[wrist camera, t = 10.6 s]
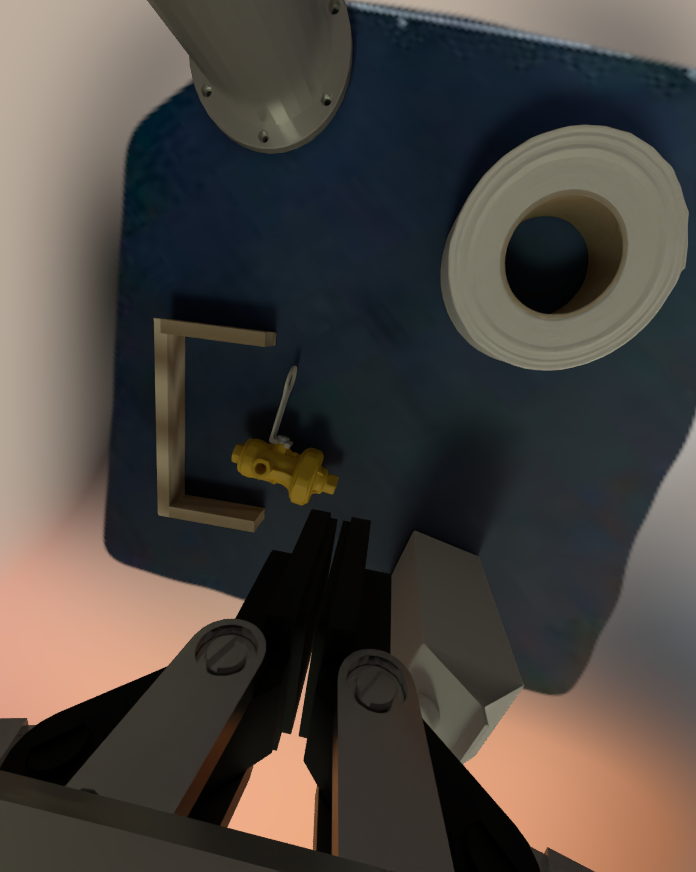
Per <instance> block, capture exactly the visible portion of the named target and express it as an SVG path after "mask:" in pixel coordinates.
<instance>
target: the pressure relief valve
mask: <svg viewBox="0 0 696 872" xmlns="http://www.w3.org/2000/svg"><path fill="white" fill-rule="evenodd" d="M292 374H293V377H292V380H291V383H290V386H289V382H290V379H291V376H292ZM296 374H297V366H292V368H291V369H290V372H289V374H288V376H287V379H286V383H285V387H284V393H283V397H282V400H281V403H280V407H279V410H278V413H277V416H276V419H275V423H274V426H273V429H272V432H271V436H270V439H269V442H270V443H273V444H268V443H266V442H265V441H263V440H260V439H249V440H248V441H247V442H246V443H245V444H243V443H238V444H237V445H236V446H235V448H234V451H233V453H232V462H235V463H238V465H237V469H238V471H239V472H241V474H242V475H244V476H247V477H250V478H256V479H259V480H265V481H269V482H271V483H273V484H276V483H280V484H282V485H284V486H285V487H286V488H287V489H288V490H289V498H291V502H293V503H296V504H299V505H304V504H306V503H308V501H309V499H310V497H311V495H312V494H313V493H318V494H320V493H321V492H322V491H323V492H326V493H329V494H333V493H334V491H335V488H336V485H337V482H338V479H339V477H338V476H335V475H332V474H329V473H328V470H327V469H325V468H324V467H322V466H321V465H322V462H323V458H324V455H323V454H322V451H320V450H318V449H315V448H312V447H311V448H308V449H306V450H305V451H304V452H303V453H302V454H300V455H299V454H298V453H296V452H294V453H293V452H292V451H291V450H290V447H291V446H292V444H293V442H291V441H290V438H289V437H286V436H283V435H278V437H277V433H278V429H279V426H280V423H281V420H282V417H283V413H284V410H285V407H286V404H287V401H288V397H289V395H290V392H291V390H292V388H293V385H294V382H295V379H296ZM288 386H289V388H288Z"/></svg>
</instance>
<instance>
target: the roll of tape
mask: <svg viewBox="0 0 696 872" xmlns="http://www.w3.org/2000/svg"><path fill="white" fill-rule="evenodd" d="M688 215H689V211H688V209H687V207H686V204H685V201H684V197H683V194H682V190H681V186H680V184H679V182H678V180H677V177H676V175H675V172H674V170H673V168H672V167H671V165H670V164H668V163H667V162H666V161H665V160H664V159H663V157H662V156H661V155H660V154H659V153H658V152H657V151H656V150H655V149H654V148H653V147H652V146H650V145H649V144H647V143H646V142H644V141H643V140H641V139H639V138H638V137H636V136H635V135H633V134H632V133H630V132H626V131H622V130H618V129H614V128H611V127H608V126H598V125H576V126H567V127H563V128H559V129H556V130H552V131H549V132H546V133H543V134H540V135H537V136H535V137H532V138H530V139H529V140H527V141H525V142H524V143H522V144H521V145H519V146H518V147H516V148H514V149H513V150H511V151H510V152H509V153H507V154H506V155H504V156H503V157H502V158H501V159H500V160H498V161H497V162H496V163H495V164H494V165H493V166H492V167H491V168H490V169H489V170H488V171H487V172H486V173H485V174H484V176H483V177H482V178H481V179H480V181H479V182H478V183H477V185H476V186H475V188H474V189H473V190H472V192H471V193H470V195H469V196H468V198H467V200H466V202H465V203H464V205H463V207H462V209H461V211H460V213H459V214H458V216H457V218H456V220H455V222H454V224H453V226H452V228H451V230H450V232H449V234H448V237H447V240H446V244H445V247H444V251H443V255H442V262H441V290H442V296H443V300H444V303H445V306H446V310H447V312H448V314H449V317H450V318H451V320H452V322H453V324H454V325H455V327H456V329H457V331H458V332H459V333H460V334H461V335H462V336H463V337H464V338H465V339H466V340H467V342H468V343H469V344H471V345H472V346H473V347H474V348H476V349H477V350H479V351H481V352H482V353H484V354H486V355H488V356H490V357H492V358H495V359H498V360H500V361H504V362H506V363H509V364H512V365H515V366H518V367H522V368H526V369H534V370H561V369H567V368H572V367H576V366H579V365H583V364H587V363H589V362H592V361H594V360H597V359H599V358H602V357H603V356H605V355H607V354H609V353H611V352H613V351H614V350H616V349H618V348H619V347H621V346H622V345H624V344H625V343H626V342H628V341H629V340H630V339H632V338H633V337H634V336H635V335H636V334H638V333H639V332H640V331H641V330H642V329H643V328H644V327H645V326H646V325H647V324H648V323H649V322H650V321H651V320H652V318H653V317H654V316H655V315H656V313H657V312H658V311H659V309H660V308H661V307H662V305H663V303H664V302H665V300H666V299H667V297H668V295H669V294H670V292H671V291H672V289H673V288H674V286H675V285H676V283H677V281H678V279H679V276H680V273H681V271H682V270H683V269H685V265H686V255H687V247H688V231H687V229H688ZM540 216H553V217H557V218H561V219H563V220H566V221H568V222H569V223H571V224H572V225H573V226H574V227H575V228H576V229H577V230H578V231H579V232H580V234H581V235H582V236H583V238H584V240H585V243H586V245H587V249H588V269H587V273H586V277H585V279H584V282H583V284H582V286H581V288H580V289H579V291H578V292H577V293H576V295H575V296H574V297H573V298H572V299H571V300H570V301H569V302H568V303H567V304H566V305H565V306H563V307H562V308H560V309H559V310H557V311H555V312H553V313H551V314H544V313H539V312H536V311H534V310H531V309H529V308H528V307H526V306H525V305H524V304H522V303H521V302H520V301H519V300H518V299H517V298H516V297H515V295H514V294H513V292H512V291H511V289H510V287H509V284H508V282H507V278H506V273H505V255H506V250H507V246H508V243H509V240H510V238H511V236H512V234H513V232H514V230H515V229H516V227H517V226H518V224H519V223H521V222H523V221H525V220H528V219H530V218H534V217H540Z"/></svg>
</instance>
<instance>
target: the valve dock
mask: <svg viewBox="0 0 696 872" xmlns="http://www.w3.org/2000/svg"><path fill="white" fill-rule="evenodd" d="M185 336H187V337H195V338H202V339H210V340H217V341H225V342H232V343H240V344H247V345H255V346H262V347H267V346H275V343H276V332H268V331H261V330H253V329H245V328H237V327H230V326H222V325H214V324H206V323H199V322H191V321H183V320H175V319H160V318H154V343H155V391H156V440H157V489H158V515H160V516H166V517H172V518H177V519H183V520H188V521H194V522H200V523H205V524H211V525H216V526H222V527H227V528H233V529H239V530H244V531H250V532H254V531H255V530H256V529H257V527H258V526H259V525H260V523H261V522H262V520H263V519H264V512H265V508H261V507H255V506H249V505H244V504H238V503H232V502H226V501H220V500H215V499H209V498H203V497H197V496H192V495H186V494H185Z"/></svg>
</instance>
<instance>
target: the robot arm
mask: <svg viewBox="0 0 696 872" xmlns="http://www.w3.org/2000/svg"><path fill="white" fill-rule="evenodd" d="M147 1H148V2H149V3H150V5H151V6H152V7H153V8H154V10H155V11H156V12H157V14H158V15H159V16H160V18H161V19H162V20H163V22H164V23H165V24H166V26H167V27H168V28H169V30H170V31H171V32H172V34H173V35H174V36H175V37H176V39H177V40H178V41H179V43H180V44H181V45H182V47H183V48H184V49H185V51H186V52H187V53H188V55H189V60H190V68H191V73H192V77H193V82H194V85H195V88H196V91H197V93H198V96H199V98H200V101H201V103H202V104H203V106H204V108H205V109H206V111H207V113H208V115H209V116H210V117H211V118H212V120H213V121H214V122H215V123H216V125H217V126H218V127H219V128H220V129H221V130H222V131H223V132H224V133H225V134H226V135H227V136H228V137H229V138H230V139H232V140H233V141H235V142H236V143H238V144H239V145H241V146H243V147H245V148H248V149H250V150H253V151H256V152H262V153H269V154H272V153H284V152H287V151H291V150H294V149H297V148H299V147H301V146H303V145H304V144H306V143H308V142H310V141H311V140H313V139H314V138H315V137H316V136H317V135H318V134H319V133H321V132H322V131H323V130H324V129H325V127H326V126H327V125H328V124H329V122H330V121H331V120H332V119H333V117H334V116H335V114H336V112H337V110H338V108H339V107H340V105H341V103H342V101H343V98H344V95H345V93H346V90H347V87H348V84H349V79H350V74H351V68H352V55H353V42H352V34H351V26H350V21H349V16H348V12H347V7H346V4H345V2H344V0H147ZM336 13H337V14H336ZM328 102H330V104H329V105H328V106H325V105H326V103H328ZM266 139H268V141H267V142H266V143H264V142H265V140H266ZM370 524H371V521H370V520H365V519H360V518H355V517H352V519H351V522H348V521H343V524H342V528H341V531H340V535H339V539H338V543H337V547H336V551H335V555H334V558H333V562H332V566H331V570H330V574H329V569H330V563H331V557H332V551H333V545H334V538H335V532H336V526H337V519H333V518H331V513H329V512H324V511H319V510H314V509H312V510H311V512H310V514H309V516H308V519H307V521H306V523H305V525H304V528H303V530H302V532H301V534H300V537H299V539H298V541H297V543H296V546H295V548H294V550H293V553H292V554H291V553H286V552H281V551H276V550H273V551H272V552H271V553H270V555H269V557H268V558H267V560H266V562H265V564H264V566H263V568H262V570H261V572H260V573H259V575H258V577H257V579H256V581H255V583H254V585H253V587H252V588H251V590H250V592H249V594H248V596H247V598H246V600H245V601H244V603H243V605H242V607H241V609H240V611H239V613H238V615H237V616H236V618H235V619H223V620H220V621H216V622H213V623H211V624H209V625H207V626H205V627H203V628H202V629H201V630H200V631H199V632H197V633H196V634H195V635H194V636H193V637H192V639H191V640H190V641H189V642H188V643H187V644H186V645H185V647H184V648H183V649H182V650H181V651H180V652H179V654H178V655H177V656H176V657H175V658H174V659H173V661H172V662H171V663H170V664H169V665H168V666H167V667H165V668H162V669H160V670H158V671H155V672H153V673H151V674H148V675H146V676H144V677H141V678H139V679H137V680H134V681H132V682H130V683H127V684H125V685H122V686H120V687H118V688H115V689H113V690H111V691H108V692H106V693H103V694H101V695H99V696H96V697H94V698H92V699H89V700H87V701H85V702H82V703H80V704H78V705H75V706H73V707H70V708H68V709H66V710H64V711H61V712H59V713H57V714H55V715H53V716H51V717H49V718H47V719H45V720H43V721H42V722H40V723H39V724H37V725H28V721H27V718H2V719H0V872H594V871H592V870H590V869H588V868H587V867H585V866H583V865H581V864H579V863H577V862H575V861H573V860H571V859H569V858H567V857H565V856H563V855H561V854H560V853H558V852H556V851H554V850H552V849H550V848H548V847H547V849H546V851H545V853H544V854H543V853H542V852H540V851H538V850H536V849H534V848H532V847H530V845H529V844H528V842H527V841H526V839H525V838H524V836H523V835H522V834H521V832H520V831H519V829H518V828H517V827H516V825H515V824H514V823H513V822H512V821H511V820H510V819H509V817H508V816H507V815H506V814H505V813H504V812H503V810H502V809H501V808H500V807H499V806H498V805H497V803H496V802H495V801H494V800H493V799H492V798H491V797H490V795H489V794H488V793H487V792H486V791H485V790H484V788H483V787H482V786H481V785H480V784H479V783H478V782H477V780H476V779H475V778H474V777H473V776H472V775H471V774H470V772H469V771H468V770H467V769H466V768H465V767H464V765H463V764H462V763H461V762H460V761H459V760H458V759H457V757H456V756H455V755H454V754H453V753H452V752H451V750H450V749H449V748H448V747H447V746H446V745H445V744H444V742H443V741H442V740H441V739H440V738H439V737H438V735H437V734H436V733H435V732H434V731H433V730H432V729H431V727H430V726H429V725H428V724H427V723H426V722H425V721H424V719H423V718H422V715H421V710H420V705H419V701H418V696H417V691H416V686H415V683H414V681H413V678H412V675H411V673H410V672H409V671H408V669H407V668H406V666H405V665H404V664H403V663H402V662H401V661H399V660H398V659H397V658H396V657H394V656H393V655H391V587H392V577H391V574H388V573H383V572H378V571H373V570H369V569H365V565H366V557H367V549H368V541H369V532H370ZM328 575H329V578H328ZM327 581H328V582H327ZM311 653H312V655H311ZM310 657H311V662H310V668H309V674H308V681H307V687H306V693H305V699H304V706H303V712H302V718H301V724H300V731H299V736H300V737H304V738H307V743H306V749H305V755H304V762H305V764H306V766H307V768H308V770H309V771H310V773H311V775H312V777H313V778H314V780H315V782H316V784H317V789H316V794H315V814H314V815H315V816H314V838H313V850H311V849H307V848H303V847H299V846H295V845H291V844H288V843H284V842H280V841H276V840H272V839H268V838H265V837H261V836H257V835H253V834H249V833H245V832H242V831H238V830H234V829H230V828H227V827H228V824H229V822H230V820H231V818H232V816H233V814H234V811H235V809H236V807H237V805H238V803H239V801H240V798H241V796H242V794H243V792H244V790H245V788H246V785H247V783H248V781H249V778H250V775H251V772H252V769H253V765H254V764H256V763H257V762H259V761H260V760H262V759H263V758H264V757H266V756H268V755H269V754H271V753H272V750H277V748H278V744H279V740H280V737H281V733H282V732H283V733H288V734H291V732H292V728H293V725H294V721H295V717H296V712H297V709H298V705H299V701H300V697H301V693H302V689H303V685H304V681H305V677H306V673H307V669H308V665H309V661H310Z"/></svg>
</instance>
